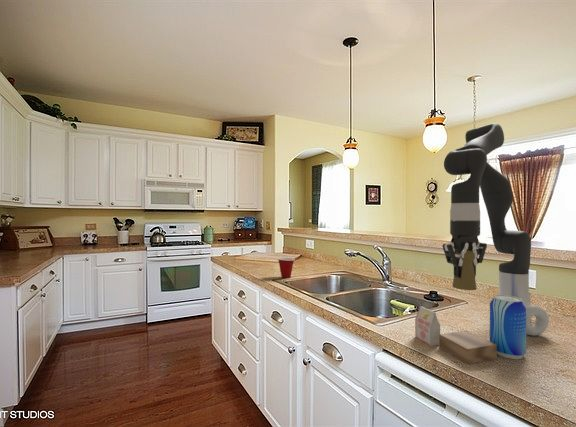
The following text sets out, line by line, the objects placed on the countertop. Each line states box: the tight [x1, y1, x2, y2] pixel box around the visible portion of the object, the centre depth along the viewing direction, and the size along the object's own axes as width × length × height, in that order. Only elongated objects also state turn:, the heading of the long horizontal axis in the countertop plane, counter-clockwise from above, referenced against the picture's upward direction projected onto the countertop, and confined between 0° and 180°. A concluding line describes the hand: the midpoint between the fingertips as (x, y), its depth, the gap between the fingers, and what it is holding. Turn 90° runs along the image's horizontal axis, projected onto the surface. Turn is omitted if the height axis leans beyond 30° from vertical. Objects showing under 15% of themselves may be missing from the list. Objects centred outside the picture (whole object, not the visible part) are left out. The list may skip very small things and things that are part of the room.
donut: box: [526, 304, 550, 337], centre depth 98 cm, size 10×4×10 cm, turn 95°
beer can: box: [489, 294, 527, 360], centre depth 86 cm, size 8×8×16 cm
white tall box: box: [414, 305, 441, 347], centre depth 94 cm, size 4×7×10 cm, turn 15°
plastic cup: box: [277, 257, 296, 279], centre depth 187 cm, size 11×11×12 cm
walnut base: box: [438, 330, 498, 365], centre depth 86 cm, size 10×10×4 cm
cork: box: [452, 250, 477, 291], centre depth 87 cm, size 6×6×11 cm
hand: (464, 278), depth 86 cm, fingers closed on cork, 3 cm apart
